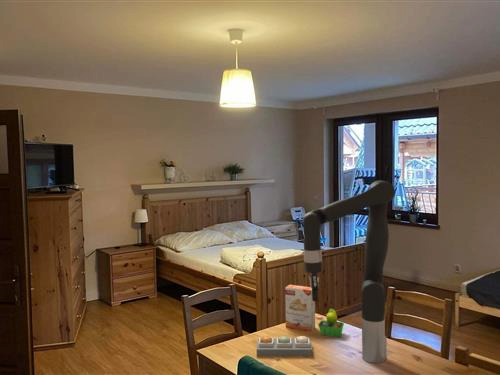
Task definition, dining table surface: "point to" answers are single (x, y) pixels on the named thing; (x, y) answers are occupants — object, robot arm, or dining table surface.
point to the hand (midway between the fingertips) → (315, 300)
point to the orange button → (265, 339)
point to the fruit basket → (331, 325)
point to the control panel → (284, 348)
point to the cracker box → (299, 307)
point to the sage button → (283, 339)
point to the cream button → (301, 339)
